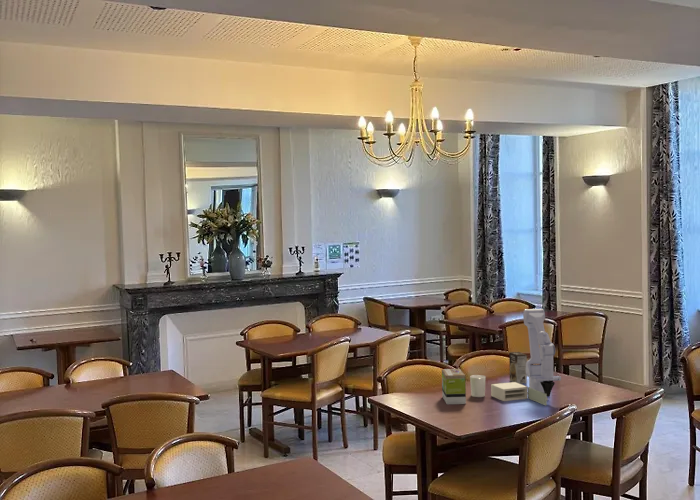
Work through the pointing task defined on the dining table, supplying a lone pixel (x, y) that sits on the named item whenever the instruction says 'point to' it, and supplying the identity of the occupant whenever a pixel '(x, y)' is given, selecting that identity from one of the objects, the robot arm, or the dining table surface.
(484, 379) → the white cup
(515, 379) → the coffee box
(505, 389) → the cabinet
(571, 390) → the dining table surface
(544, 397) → the door
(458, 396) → the tea box
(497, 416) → the dining table surface
